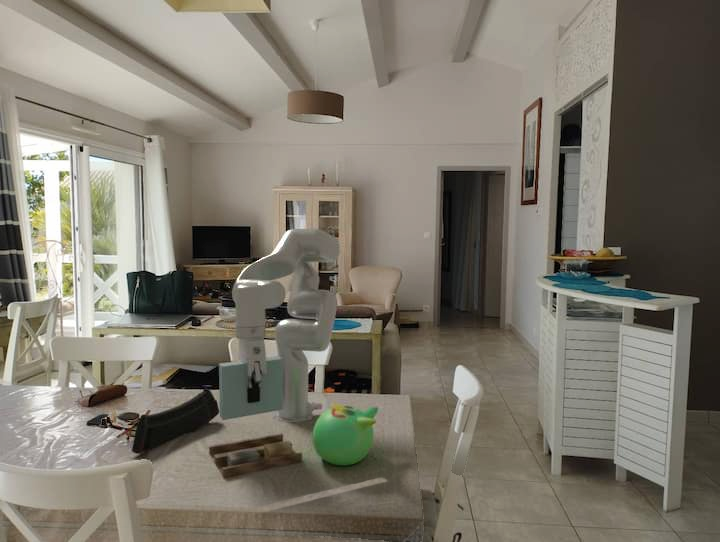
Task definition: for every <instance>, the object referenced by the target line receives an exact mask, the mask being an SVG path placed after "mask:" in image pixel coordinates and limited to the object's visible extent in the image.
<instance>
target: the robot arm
mask: <svg viewBox="0 0 720 542" xmlns="http://www.w3.org/2000/svg"><path fill="white" fill-rule="evenodd" d="M340 248H341V247H340V243H339V241H338V239H337V238H336V237H335V236H333V235H332V234H330V233H328V232H326V231H324V230H323V229H316V228H292V229H288V230H287V231H285V232H284V233H283V235H282V236H281V237H280V239H279V241H278V242H277V244H276V245H275V247H274V249H273V250H272V251H271V253H270V254H268V255H266V256H263V257H262V258H260V259H259V260H257V261H255V262H254V261H253V262H252V263H250V264H249V265H248V266H246V267H245V268H243V270H242V272H241V273H240V274H239V275H238V277H237V278H236V280H235V282H234V283H233V287H232V291H231V297H232V300H233V302H234V304H235V337H236V339H238V361H241V362H242V363H243V364H244V369H245V375H246V376H248V384H249V388H247V400H248V403H254V402H259V401H260V382H261V375H260V373H261V374H262V375H263V376H265V375H266V374H267V369H266V358H267V355H266V354H267V353H266V344H265V339H264V338H266V310H267V309H276V308H278V307H280V306H281V305H282V304H283V303H284V301H285V299H286V295H287V294H286V288H285V286H284V285H283V283H281V282H280V281H278V279H282V278H285V277H287V276H291V275H292V274H293V281H292V283H291V288H290V291H289V296H288V300H287V304H286V309H287V313H288V314H289V316H291V317H292V318H285V319H282V320H280V321H279V322H277V324H276V325H275V328H274V338H275V340H274V341H275V345H276V352H277V356H279V357H280V358H282V407H283V410H278V411H274V412H273V413H272V420H276V421H278V422H283V423H298V422H299V423H300V422H304V421H311V420H312V419H313V417H314V415H313V412H314V411H315V410H322V409H323V404H322V403H321V402H319V403H316V402H312V401H311V402H309V362H308V357H307V356H306V354H305V353H304V352H305V351H307V352H321V353H322V352H325V351H326V350H327V349H328V348H329V346H330V344H331V339H332V335H333V330H334V325H335V320H336V315H337V314H336V313H337V308H338V307H337V306H338V304H337V303H338V301H337V297H336V295H335V293H333V291H330V290H327V289H319V285H320V276H319V274H318V272H317V271H316V269H315V267H314V266H313V265H312V264H311V262H312V263H333V262H336V260H337V259H338V258H339V256H340V251H341V249H340ZM276 280H277V281H276ZM293 317H294V318H293ZM303 351H304V352H303ZM251 374H254V375H253V376H252V375H251ZM254 378H255V379H254ZM252 379H254V380H252Z"/></svg>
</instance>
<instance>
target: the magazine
mask: <svg viewBox="0 0 720 542" xmlns="http://www.w3.org/2000/svg"><path fill="white" fill-rule="evenodd" d="M218 415H220V407H219V405H218V400H217V399H216V398H215V397H214V394H213V392H212V391H211V390H210V389H209V388H204V389H203V391H201V392H200V393H198V394H197V395H195V396H194V397H192V398H191V399H189V400H187V401H185V402H184V403H181V404H179V405H177V406H174V407H173V408H169V409H166V410H163V411H161V412H157V413H153V414H142V415H140V417H141V418H140V420H139V422H138V423H137V425H136V427H135V433H134V439H133V443H132V447H131V452H132V453H134V454H137V455H139V454H140V455H142V454H143V453H146V452H149V451H153V450H154V449H156V448H158V447H160V446H162V445H165V444H167V443H168V442H169V443H170V442H171V441H173V440H175V439H178V438H179V437H181V436H184V435H186V434H192V433H196V432H197V431H198V430H200V429H201V428H202V427H204V426H205V425H210V424H211V423H210V422H211V421H212V420H213V419H215V418H216V417H217V416H218Z"/></svg>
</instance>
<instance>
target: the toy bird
mask: <svg viewBox="0 0 720 542" xmlns="http://www.w3.org/2000/svg"><path fill="white" fill-rule="evenodd" d="M331 406H332V407H331V408H328V409H326V410H325V411H323V412H322V413H321V415H320V416H319V417H318V418H317V420H316V422H315V423H314V426H313V427H314V428H313V431H312V443H313V447H314V449H315V452H316V454H318V457H320V458H322V459H323V460H324V461H325V462H328V463H330V464H331V465H336V466H343V467H344V466H351V465H354V464H357V463H358V462H361V461H362V460H363V459H364V458H365V457H366V456H367V455H368V453H369V452H370V450H371V448H372V446H373V442H374V436H375V435H374V434H375V432H374V427H373V425H375V424H377V419H375V417H376V415H377V413H378V411H379V407H378V406H376V405H375V406H373V407H371V408H368V409H366V410H364V411H362V410H360V409H359V408H357V407H353V406H350V405H341V404H338V403H331Z"/></svg>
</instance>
